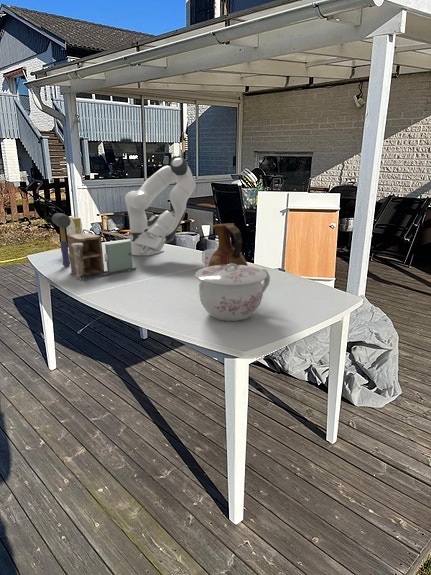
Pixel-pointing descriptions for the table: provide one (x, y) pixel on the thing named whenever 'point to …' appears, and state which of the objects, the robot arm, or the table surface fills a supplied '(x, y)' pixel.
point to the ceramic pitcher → (227, 246)
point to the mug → (207, 256)
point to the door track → (104, 274)
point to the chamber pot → (231, 290)
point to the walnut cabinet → (85, 254)
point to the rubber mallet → (62, 234)
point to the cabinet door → (118, 256)
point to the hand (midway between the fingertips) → (141, 253)
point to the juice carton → (74, 226)
